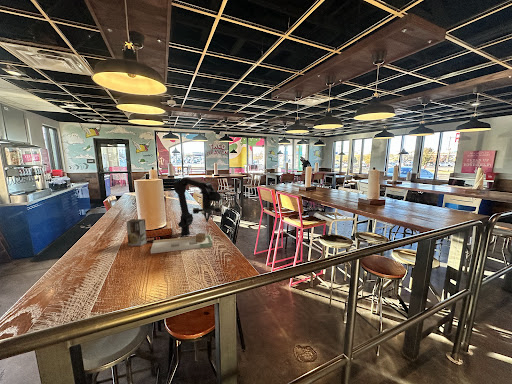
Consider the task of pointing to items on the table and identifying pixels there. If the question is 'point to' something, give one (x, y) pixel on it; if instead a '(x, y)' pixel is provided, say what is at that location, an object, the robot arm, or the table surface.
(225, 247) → the table surface
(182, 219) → the robot arm
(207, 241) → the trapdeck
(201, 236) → the block
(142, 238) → the coffee box
